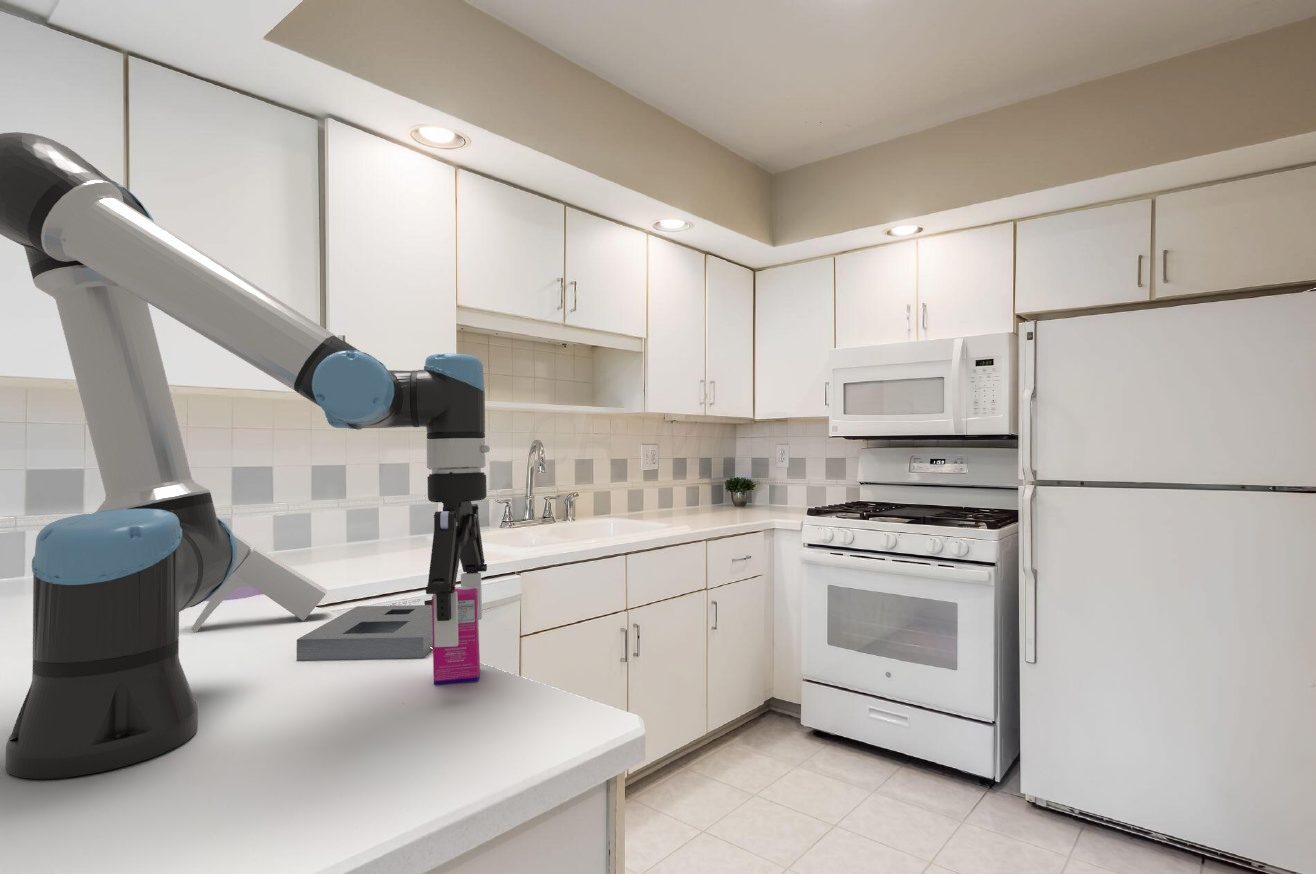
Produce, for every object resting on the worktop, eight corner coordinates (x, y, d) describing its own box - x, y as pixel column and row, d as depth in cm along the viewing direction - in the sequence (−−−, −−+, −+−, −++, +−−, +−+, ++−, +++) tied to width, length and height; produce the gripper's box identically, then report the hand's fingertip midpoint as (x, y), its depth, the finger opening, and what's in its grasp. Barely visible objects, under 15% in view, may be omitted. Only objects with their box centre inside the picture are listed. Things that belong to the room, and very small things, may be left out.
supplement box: (435, 672, 93) (435, 587, 94) (480, 668, 95) (480, 584, 95) (431, 686, 88) (431, 595, 88) (479, 682, 89) (479, 592, 89)
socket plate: (423, 658, 100) (423, 637, 100) (296, 660, 99) (296, 639, 99) (460, 621, 122) (460, 604, 122) (357, 623, 121) (357, 606, 121)
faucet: (327, 593, 124) (226, 527, 118) (260, 672, 119) (151, 608, 113) (326, 587, 130) (230, 524, 123) (262, 662, 125) (159, 601, 118)
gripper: (462, 473, 80) (466, 658, 79) (502, 468, 105) (505, 609, 104) (396, 474, 79) (400, 661, 79) (452, 469, 104) (455, 611, 104)
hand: (460, 632), depth 91 cm, fingers open, 13 cm apart
